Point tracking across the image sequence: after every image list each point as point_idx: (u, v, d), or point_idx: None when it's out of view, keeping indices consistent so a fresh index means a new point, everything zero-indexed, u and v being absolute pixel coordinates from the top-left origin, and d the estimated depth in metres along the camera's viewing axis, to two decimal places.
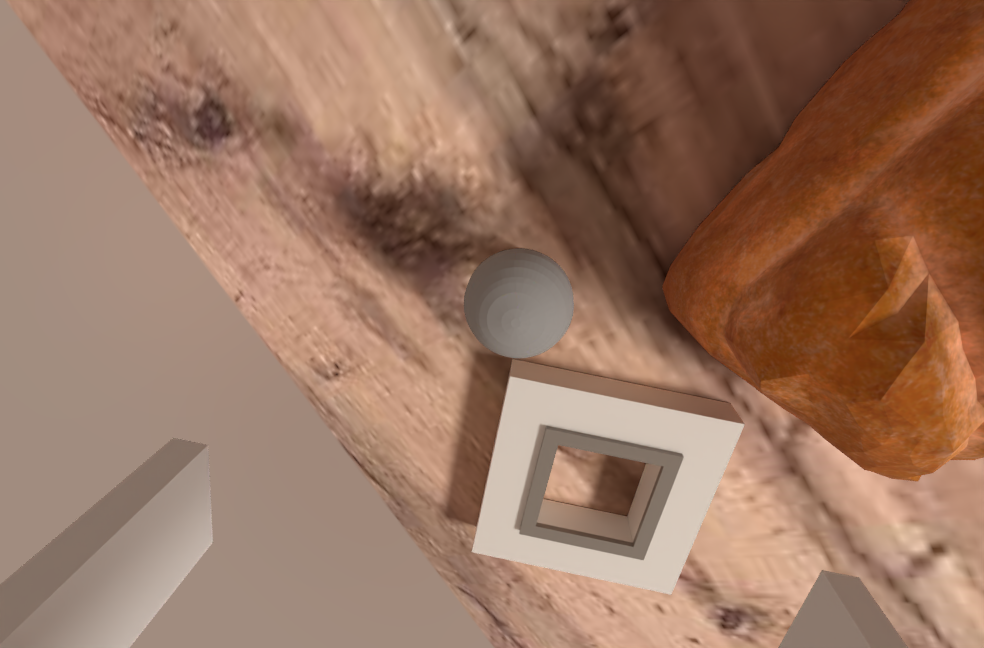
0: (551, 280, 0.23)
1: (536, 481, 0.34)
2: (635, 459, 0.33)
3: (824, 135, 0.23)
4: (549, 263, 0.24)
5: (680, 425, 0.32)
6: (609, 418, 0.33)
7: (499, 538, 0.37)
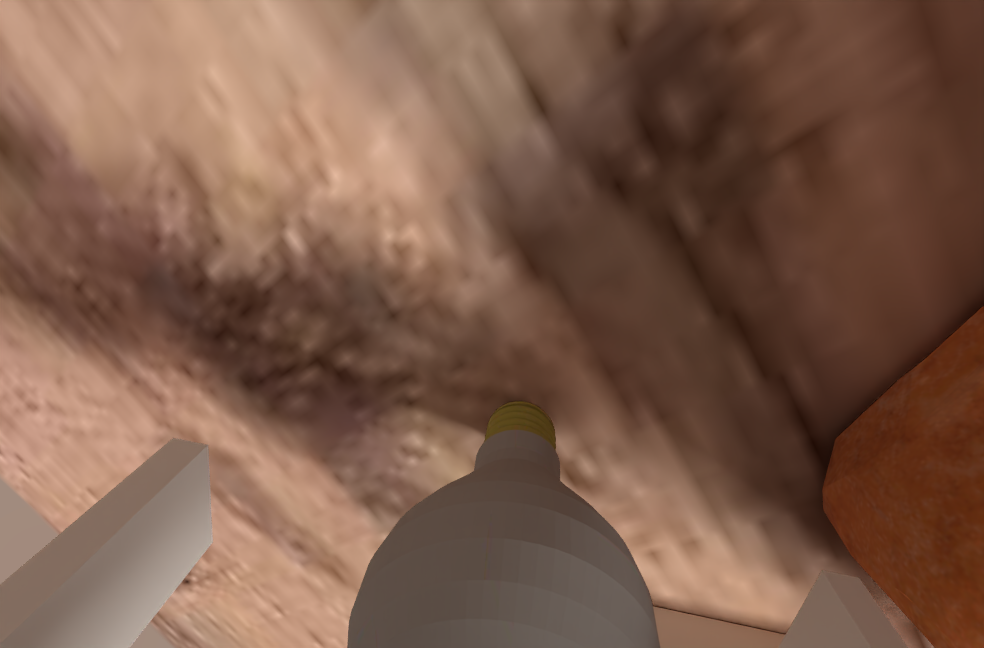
0: None
1: None
2: None
3: None
4: (593, 575, 0.08)
5: None
6: None
7: None
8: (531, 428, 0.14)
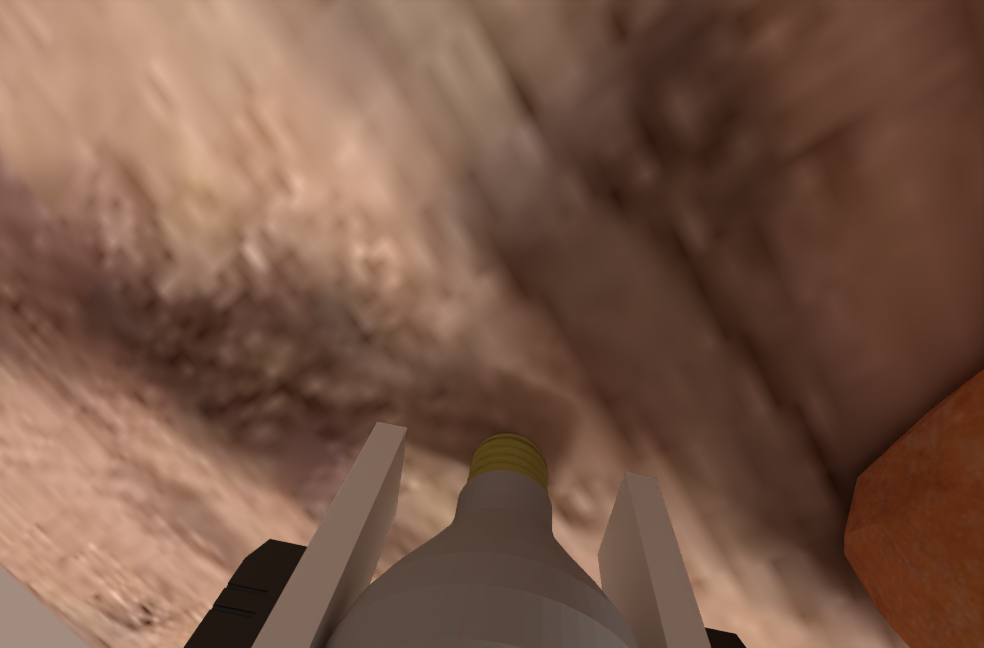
0: None
1: None
2: None
3: None
4: None
5: None
6: None
7: None
8: (519, 467, 0.12)
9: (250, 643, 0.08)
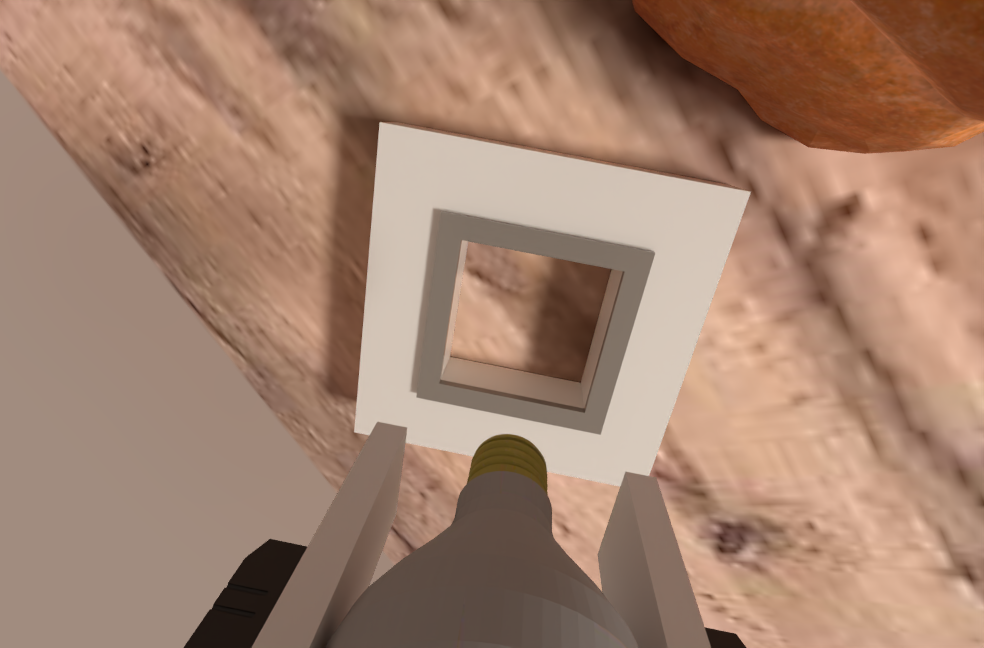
0: None
1: (433, 306, 0.23)
2: (580, 260, 0.21)
3: None
4: None
5: (649, 200, 0.21)
6: (539, 191, 0.21)
7: (391, 408, 0.25)
8: (519, 468, 0.12)
9: (250, 644, 0.08)
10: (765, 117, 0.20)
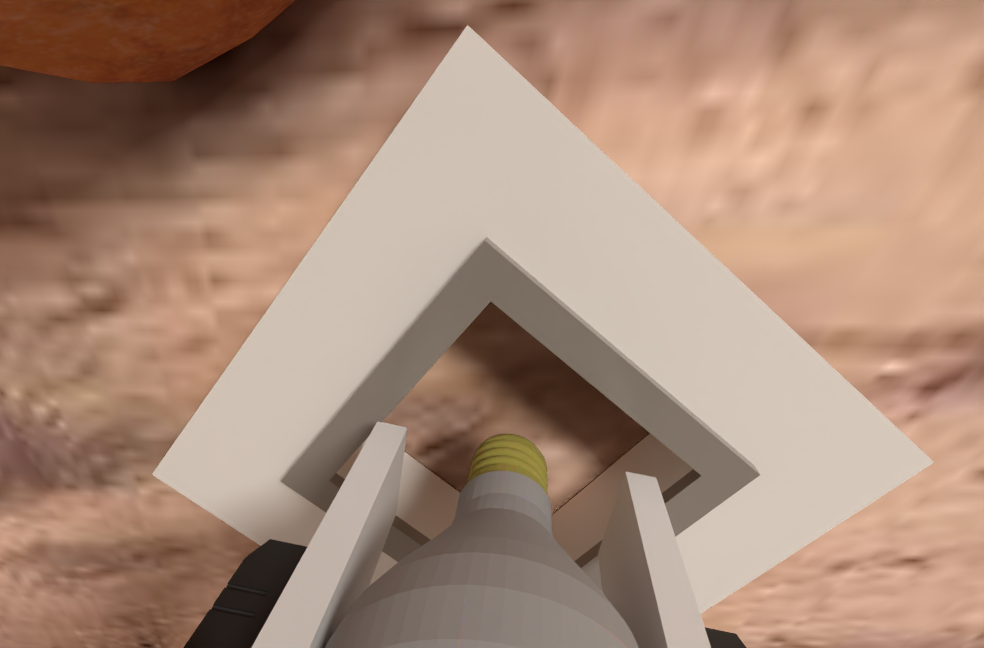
0: None
1: None
2: (437, 353, 0.12)
3: None
4: None
5: (399, 204, 0.12)
6: (314, 350, 0.13)
7: None
8: (519, 467, 0.12)
9: (250, 644, 0.08)
10: None
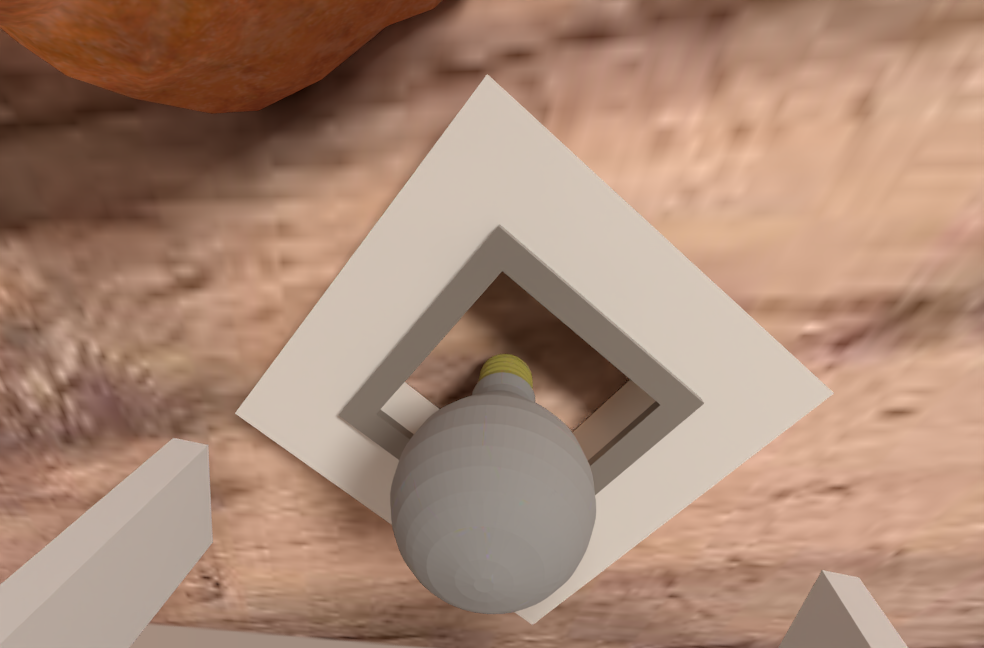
0: (556, 488, 0.12)
1: None
2: (462, 311, 0.17)
3: None
4: (550, 445, 0.12)
5: (436, 200, 0.16)
6: (368, 310, 0.17)
7: None
8: (513, 372, 0.18)
9: None
10: (425, 4, 0.15)
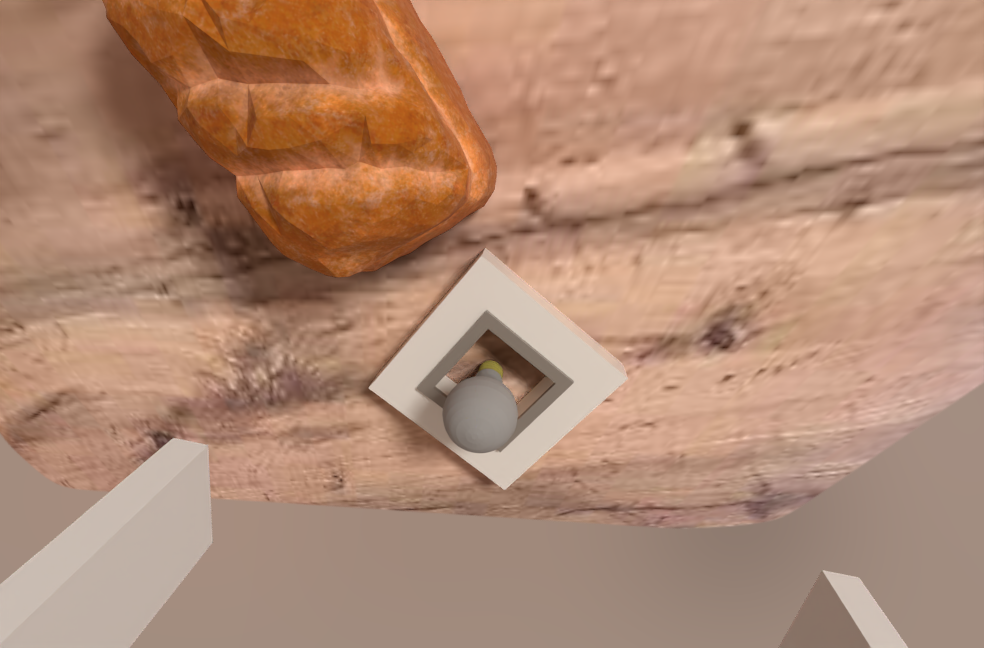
0: (499, 406, 0.35)
1: None
2: (471, 344, 0.40)
3: None
4: (499, 393, 0.35)
5: (461, 300, 0.39)
6: (431, 343, 0.40)
7: (501, 466, 0.44)
8: (493, 368, 0.41)
9: None
10: None
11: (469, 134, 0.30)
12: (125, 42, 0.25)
